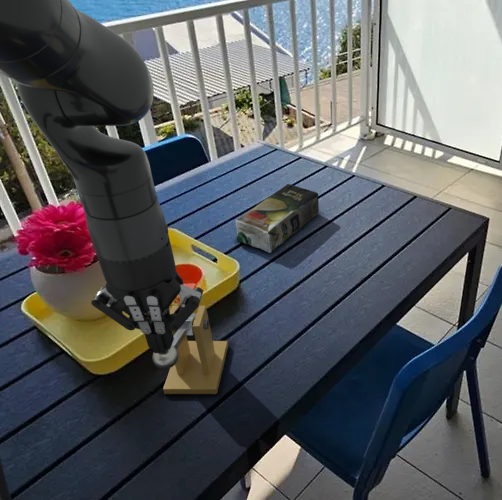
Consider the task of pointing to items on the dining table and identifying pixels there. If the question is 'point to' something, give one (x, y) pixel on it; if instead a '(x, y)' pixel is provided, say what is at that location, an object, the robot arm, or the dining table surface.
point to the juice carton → (277, 217)
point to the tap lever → (174, 345)
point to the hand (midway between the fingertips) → (163, 348)
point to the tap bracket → (197, 360)
